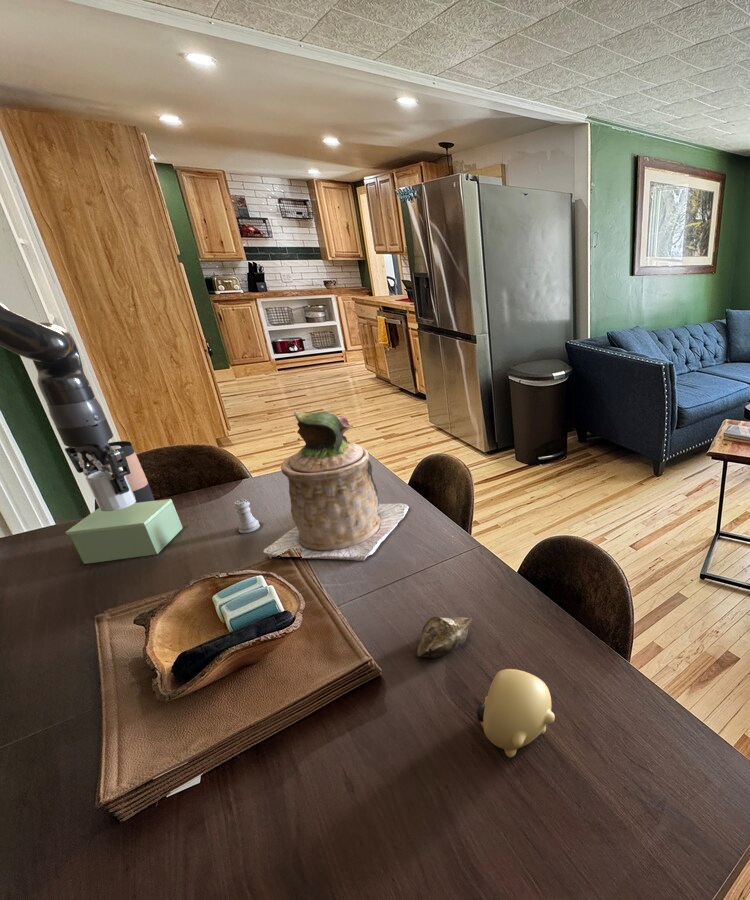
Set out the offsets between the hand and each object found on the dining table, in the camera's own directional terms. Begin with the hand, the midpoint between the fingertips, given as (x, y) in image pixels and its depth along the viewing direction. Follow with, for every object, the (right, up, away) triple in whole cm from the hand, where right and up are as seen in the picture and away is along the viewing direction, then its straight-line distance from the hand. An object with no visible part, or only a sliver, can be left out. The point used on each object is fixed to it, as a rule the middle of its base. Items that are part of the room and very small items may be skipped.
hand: (112, 491), depth 106 cm
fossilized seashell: (+83, -26, -22) cm, 89 cm away
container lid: (0, -6, +3) cm, 7 cm away
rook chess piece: (+22, -11, +13) cm, 27 cm away
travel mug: (-11, -8, +18) cm, 23 cm away
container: (0, -14, +6) cm, 15 cm away
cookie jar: (+46, -12, +11) cm, 49 cm away
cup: (0, -3, +1) cm, 4 cm away
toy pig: (+98, -32, -37) cm, 109 cm away
